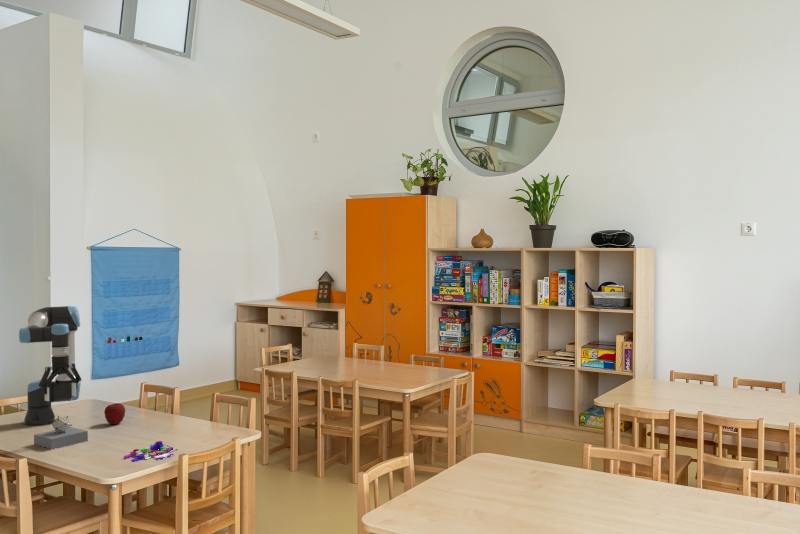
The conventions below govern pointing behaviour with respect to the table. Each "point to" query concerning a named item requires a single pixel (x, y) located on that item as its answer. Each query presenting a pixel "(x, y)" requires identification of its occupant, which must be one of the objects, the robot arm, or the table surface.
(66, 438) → the plinth
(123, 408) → the apple
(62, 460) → the table surface
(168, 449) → the building block set
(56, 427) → the game die
